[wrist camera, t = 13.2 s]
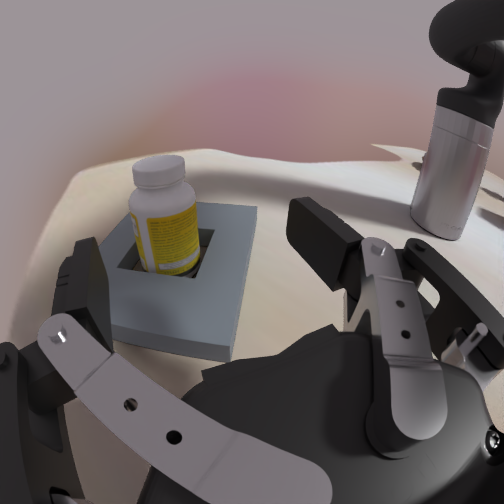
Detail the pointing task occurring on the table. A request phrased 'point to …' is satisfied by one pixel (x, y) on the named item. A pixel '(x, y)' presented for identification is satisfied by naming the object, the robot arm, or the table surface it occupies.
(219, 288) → the hole board
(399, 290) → the robot arm
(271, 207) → the table surface
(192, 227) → the supplement bottle
